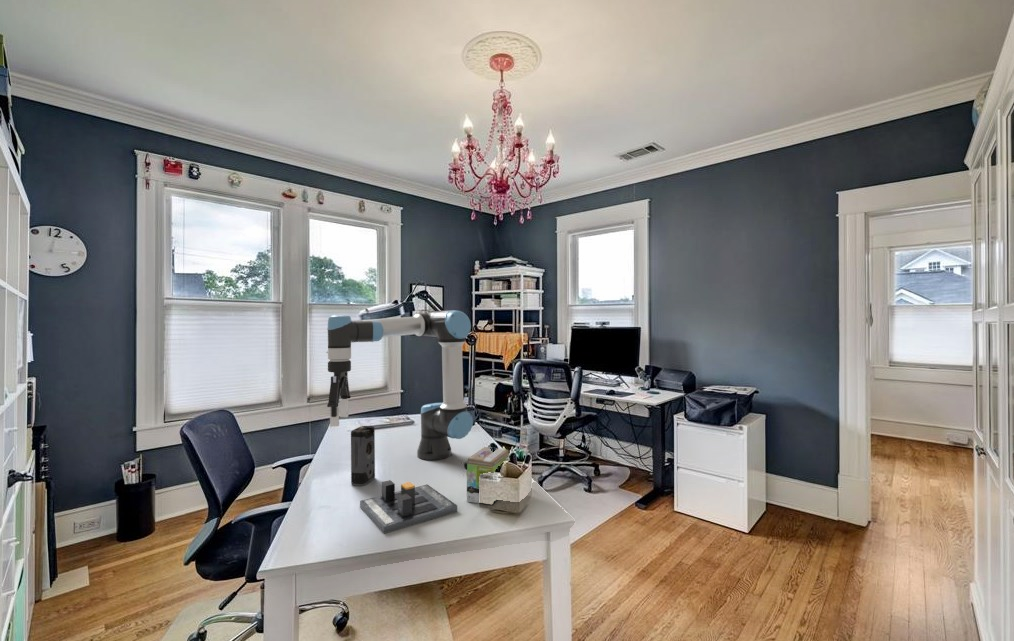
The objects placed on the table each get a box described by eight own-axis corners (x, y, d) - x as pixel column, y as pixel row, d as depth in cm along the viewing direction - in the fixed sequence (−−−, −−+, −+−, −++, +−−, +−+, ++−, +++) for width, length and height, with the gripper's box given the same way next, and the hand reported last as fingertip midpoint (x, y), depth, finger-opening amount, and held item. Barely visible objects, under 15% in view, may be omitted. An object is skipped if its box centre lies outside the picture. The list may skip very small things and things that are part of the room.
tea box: (493, 506, 145) (493, 461, 145) (465, 502, 148) (465, 458, 148) (509, 489, 159) (509, 448, 159) (483, 486, 162) (483, 445, 162)
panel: (427, 489, 159) (427, 469, 159) (457, 511, 141) (457, 488, 141) (360, 506, 145) (359, 484, 145) (383, 533, 127) (383, 508, 127)
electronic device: (364, 486, 162) (363, 432, 162) (349, 485, 163) (348, 431, 163) (376, 477, 171) (376, 425, 171) (362, 476, 172) (362, 425, 172)
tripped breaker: (409, 499, 145) (409, 482, 145) (414, 503, 142) (414, 485, 142) (401, 501, 143) (401, 484, 143) (406, 505, 140) (405, 487, 140)
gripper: (337, 357, 165) (337, 414, 165) (317, 363, 140) (317, 430, 140) (357, 356, 166) (358, 413, 166) (342, 363, 141) (342, 430, 141)
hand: (339, 421), depth 153 cm, fingers open, 13 cm apart
